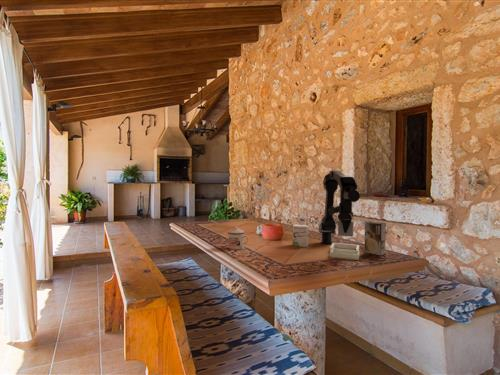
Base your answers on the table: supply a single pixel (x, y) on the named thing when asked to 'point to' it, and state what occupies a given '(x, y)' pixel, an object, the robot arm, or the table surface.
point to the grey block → (349, 231)
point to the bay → (344, 246)
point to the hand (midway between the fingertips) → (345, 232)
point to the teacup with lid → (236, 239)
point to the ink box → (300, 235)
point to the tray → (345, 254)
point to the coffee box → (375, 237)
